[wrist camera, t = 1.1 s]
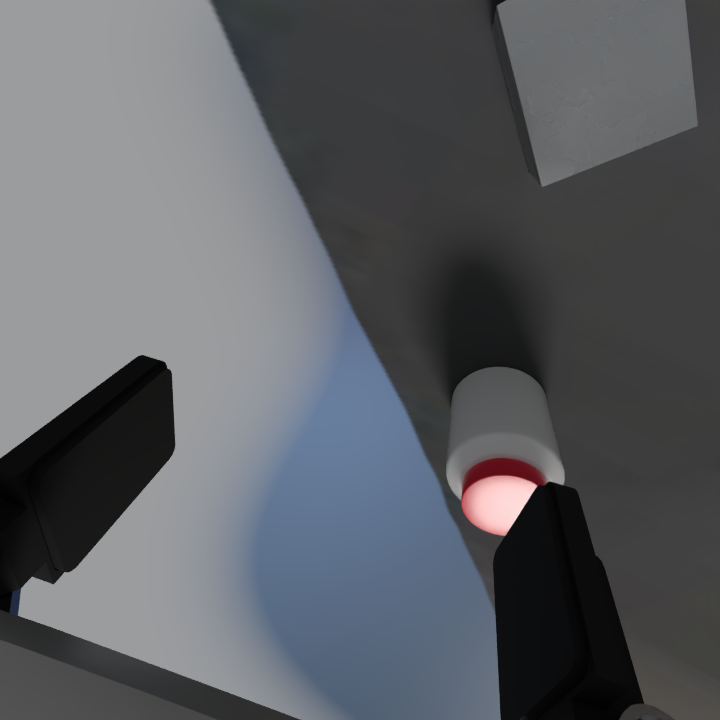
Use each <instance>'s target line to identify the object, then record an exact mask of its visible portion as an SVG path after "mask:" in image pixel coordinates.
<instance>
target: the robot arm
mask: <svg viewBox="0 0 720 720" xmlns="http://www.w3.org/2000/svg"><path fill="white" fill-rule="evenodd" d="M174 432H175V431H174V410H173V390H172V373H171V371H170V370H169V369H167V365H166V363H165V362H163V361H160V360H157V359H153V358H150V357H147V356H144V355H141V356H138V357H136V358H135V359H134V360H132V361H131V362H130V363H128V364H127V365H126V366H124V367H123V368H122V369H120V370H119V371H118V372H116V373H115V374H114V375H112V376H111V377H109V378H108V379H107V380H106V381H104V382H103V383H101V384H100V385H99V386H97V387H96V388H95V389H93V390H92V391H91V392H89V393H88V394H87V395H85V396H84V397H82V398H81V399H80V400H79V401H77V402H76V403H74V404H73V405H72V406H70V407H69V408H68V409H66V410H65V411H64V412H62V413H61V414H60V415H58V416H57V417H56V418H54V419H53V420H52V421H50V422H49V423H47V424H46V425H45V426H44V427H42V428H41V429H40V430H38V431H37V432H35V433H34V434H33V435H31V436H30V437H29V438H27V439H26V440H25V441H23V442H22V443H21V444H19V445H18V446H17V447H15V448H14V449H12V450H11V451H10V452H8V453H7V454H6V455H4V456H3V457H2V458H0V720H299V719H297V718H294V717H291V716H289V715H286V714H284V713H281V712H278V711H276V710H273V709H270V708H268V707H265V706H262V705H260V704H256V703H254V702H252V701H249V700H246V699H243V698H241V697H238V696H236V695H233V694H230V693H228V692H225V691H222V690H219V689H217V688H214V687H211V686H209V685H206V684H203V683H201V682H198V681H195V680H192V679H190V678H187V677H184V676H182V675H179V674H176V673H174V672H171V671H168V670H166V669H163V668H160V667H158V666H155V665H152V664H149V663H147V662H144V661H141V660H139V659H136V658H133V657H130V656H128V655H125V654H122V653H120V652H117V651H114V650H111V649H109V648H106V647H103V646H100V645H98V644H95V643H92V642H89V641H87V640H84V639H81V638H78V637H76V636H73V635H71V634H68V633H65V632H62V631H60V630H57V629H54V628H51V627H49V626H46V625H43V624H40V623H37V622H34V621H31V620H28V619H25V618H22V617H20V616H18V610H19V601H20V592H21V588H22V587H23V586H24V584H25V583H26V582H27V581H28V580H29V579H30V578H31V577H35V578H38V579H41V580H43V581H46V582H49V583H52V584H54V583H55V582H56V581H57V580H58V579H59V578H60V577H61V576H62V574H63V573H64V572H70V571H72V570H73V569H75V568H76V567H77V566H78V565H79V563H80V562H81V561H82V560H83V559H84V558H85V556H86V555H87V554H88V553H89V552H90V551H91V549H92V548H93V547H94V546H95V545H96V544H97V542H98V541H99V540H100V539H101V538H102V537H103V536H104V534H105V533H106V532H107V531H108V529H110V527H111V526H112V525H113V524H114V523H115V522H116V520H117V519H118V518H119V517H120V516H121V515H122V513H123V512H124V511H125V510H126V509H127V508H128V507H129V505H130V504H131V503H132V502H133V501H134V500H135V498H136V497H137V496H138V495H139V494H140V493H141V491H142V490H143V489H144V488H145V487H146V486H147V484H148V483H149V482H150V481H151V480H152V479H153V478H154V476H155V475H156V474H157V473H158V472H159V470H160V469H161V468H162V467H163V466H164V465H165V463H166V462H167V461H168V460H169V459H170V457H171V456H172V454H173V452H174V449H175V433H174ZM493 572H494V592H495V612H496V632H497V652H498V673H499V693H500V713H501V720H674V719H673V718H672V717H671V716H670V715H668V714H667V713H665V712H663V711H661V710H660V709H658V708H656V707H654V706H650V705H646V704H644V701H643V698H642V695H641V691H640V688H639V684H638V681H637V677H636V674H635V671H634V667H633V664H632V660H631V657H630V653H629V650H628V647H627V643H626V640H625V636H624V633H623V629H622V626H621V623H620V619H619V616H618V612H617V609H616V605H615V602H614V599H613V595H612V592H611V588H610V585H609V582H608V578H607V575H606V571H605V568H604V566H603V563H602V561H601V560H600V559H599V558H598V557H597V556H595V552H594V548H593V545H592V541H591V538H590V534H589V531H588V527H587V523H586V520H585V516H584V513H583V509H582V506H581V502H580V498H579V495H578V493H577V491H576V490H575V489H574V488H570V487H567V486H564V485H561V484H558V483H554V482H550V481H549V482H547V483H546V484H545V486H543V485H538V486H537V487H536V489H535V490H534V492H533V493H532V495H531V496H530V498H529V500H528V501H527V503H526V504H525V506H524V507H523V509H522V511H521V512H520V514H519V515H518V517H517V518H516V520H515V522H514V523H513V525H512V526H511V528H510V529H509V531H508V532H507V534H506V536H505V537H504V539H503V540H502V542H501V543H500V545H499V547H498V548H497V550H496V552H495V555H494V561H493Z"/></svg>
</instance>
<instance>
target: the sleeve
mask: <svg viewBox="0 0 720 720" xmlns="http://www.w3.org/2000/svg"><path fill="white" fill-rule="evenodd" d="M492 32H493V36H494V40H495V44H496V48H497V52H498V56H499V60H500V63H501V67H502V71H503V75H504V79H505V83H506V87H507V91H508V95H509V98H510V102H511V106H512V110H513V114H514V118H515V122H516V126H517V130H518V133H519V137H520V141H521V145H522V149H523V153H524V157H525V161H526V164H527V168H528V172H529V173H530V174H531V175H532V176H533V177H534V179H535V180H536V181H537V182H538V183H539V184H540V186H541V187H544V186H546V185H549V184H551V183H554V182H556V181H559V180H561V179H564V178H566V177H569V176H571V175H574V174H577V173H579V172H582V171H584V170H587V169H589V168H592V167H594V166H597V165H599V164H602V163H604V162H607V161H610V160H612V159H615V158H617V157H620V156H622V155H625V154H627V153H630V152H632V151H635V150H637V149H640V148H642V147H645V146H648V145H650V144H653V143H655V142H658V141H660V140H663V139H665V138H668V137H670V136H673V135H675V134H678V133H681V132H683V131H686V130H688V129H691V128H693V127H696V126H698V123H697V113H696V104H695V94H694V84H693V74H692V64H691V54H690V45H689V35H688V25H687V15H686V5H685V0H506V1H504V2H502V3H501V4H499V5H497V7H496V12H495V16H494V21H493V26H492Z"/></svg>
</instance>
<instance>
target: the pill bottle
mask: <svg viewBox="0 0 720 720" xmlns="http://www.w3.org/2000/svg"><path fill="white" fill-rule="evenodd" d="M446 476H447V480H448V484H449V486H450V487H451V489H452V491H453V492H454V494H455V495H456V496H457V497H458V498H459V499H460V500H461V505H462V510H463V512H464V514H465V516H466V517H467V518H468V519H469V521H470V522H472V523H473V524H474V525H475V526H477V527H479V528H480V529H482V530H484V531H487V532H489V533H493V534H496V535H502V536H506V534H507V532H508V531H509V529H510V528H511V526H512V525H513V523H514V522H515V520H516V518H517V517H518V515H519V514H520V512H521V511H522V509H523V507H524V506H525V504H526V503H527V501H528V500H529V498H530V496H531V495H532V493H533V492H534V490H535V489H536V487H537V486H538V485H543V486H545V484H546V483H547V482H549V481H550V482H554V483H558V484H561V485H564V480H565V474H564V466H563V462H562V458H561V454H560V450H559V446H558V442H557V438H556V434H555V430H554V426H553V422H552V418H551V414H550V410H549V406H548V402H547V398H546V395H545V393H544V390H543V389H542V387H541V386H540V384H539V383H538V382H537V381H536V380H535V379H534V378H533V377H531V376H530V375H528V374H526V373H525V372H522V371H520V370H517V369H513V368H508V367H489V368H484V369H481V370H478V371H475V372H473V373H471V374H469V375H468V376H467V377H465V378H464V379H463V380H462V381H461V382H460V383H459V384H458V385H457V387H456V389H455V390H454V392H453V396H452V399H451V411H450V423H449V436H448V449H447V461H446Z"/></svg>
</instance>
